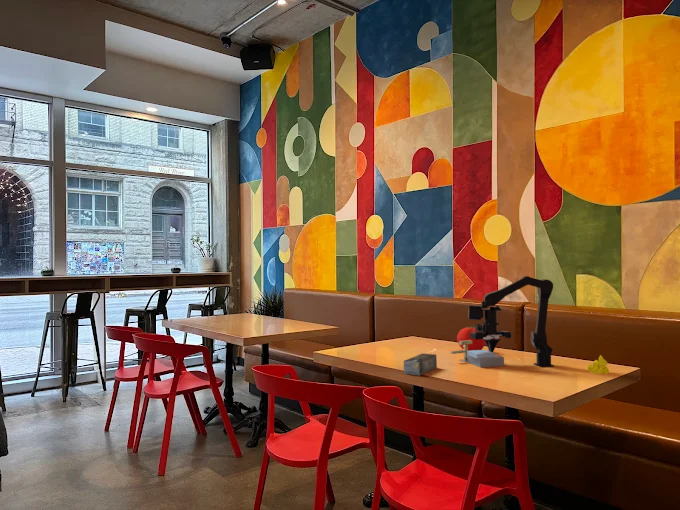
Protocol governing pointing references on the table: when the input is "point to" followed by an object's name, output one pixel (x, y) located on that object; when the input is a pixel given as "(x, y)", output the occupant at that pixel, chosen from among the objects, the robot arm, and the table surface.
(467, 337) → the tomato
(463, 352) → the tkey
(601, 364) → the yellow crystal cluster
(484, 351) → the cover
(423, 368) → the beverage carton
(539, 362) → the robot arm
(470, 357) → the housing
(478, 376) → the table surface
